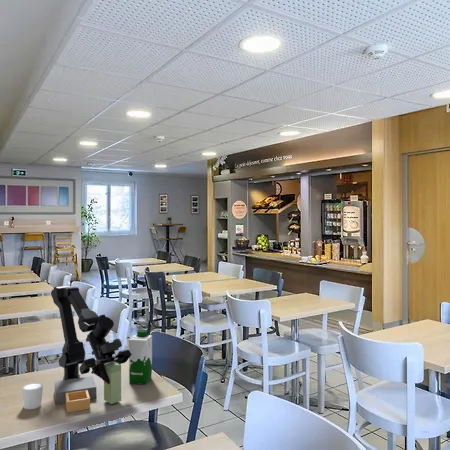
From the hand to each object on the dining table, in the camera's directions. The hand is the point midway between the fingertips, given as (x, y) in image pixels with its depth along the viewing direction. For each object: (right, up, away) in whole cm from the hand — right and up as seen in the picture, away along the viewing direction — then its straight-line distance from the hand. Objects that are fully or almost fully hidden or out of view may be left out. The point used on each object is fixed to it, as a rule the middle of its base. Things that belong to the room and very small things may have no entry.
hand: (114, 381), depth 153 cm
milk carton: (+5, -8, +22) cm, 24 cm away
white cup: (-29, -8, -2) cm, 30 cm away
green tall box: (-1, -7, +1) cm, 7 cm away
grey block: (-15, -8, +4) cm, 17 cm away
